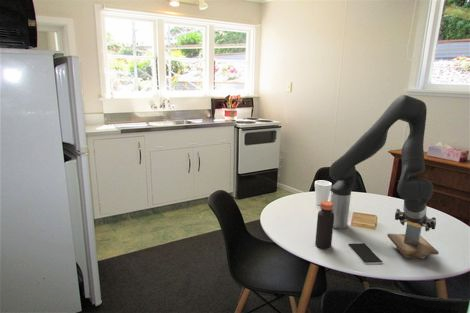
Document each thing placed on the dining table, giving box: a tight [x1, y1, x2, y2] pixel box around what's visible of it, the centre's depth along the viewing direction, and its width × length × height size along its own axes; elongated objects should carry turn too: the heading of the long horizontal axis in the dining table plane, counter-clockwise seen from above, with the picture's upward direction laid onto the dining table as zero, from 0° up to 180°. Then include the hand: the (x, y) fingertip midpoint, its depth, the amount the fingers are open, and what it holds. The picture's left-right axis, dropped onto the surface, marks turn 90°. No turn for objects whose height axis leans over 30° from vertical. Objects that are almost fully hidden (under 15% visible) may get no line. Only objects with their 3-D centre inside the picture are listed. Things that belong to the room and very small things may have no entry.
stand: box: [387, 233, 440, 259], centre depth 130 cm, size 14×14×5 cm
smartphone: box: [347, 242, 383, 265], centre depth 129 cm, size 8×1×15 cm
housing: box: [404, 222, 423, 246], centre depth 128 cm, size 5×5×10 cm
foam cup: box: [314, 179, 333, 207], centre depth 180 cm, size 10×9×13 cm
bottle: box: [314, 200, 334, 250], centre depth 133 cm, size 7×7×20 cm
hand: (414, 226), depth 129 cm, fingers open, 8 cm apart
